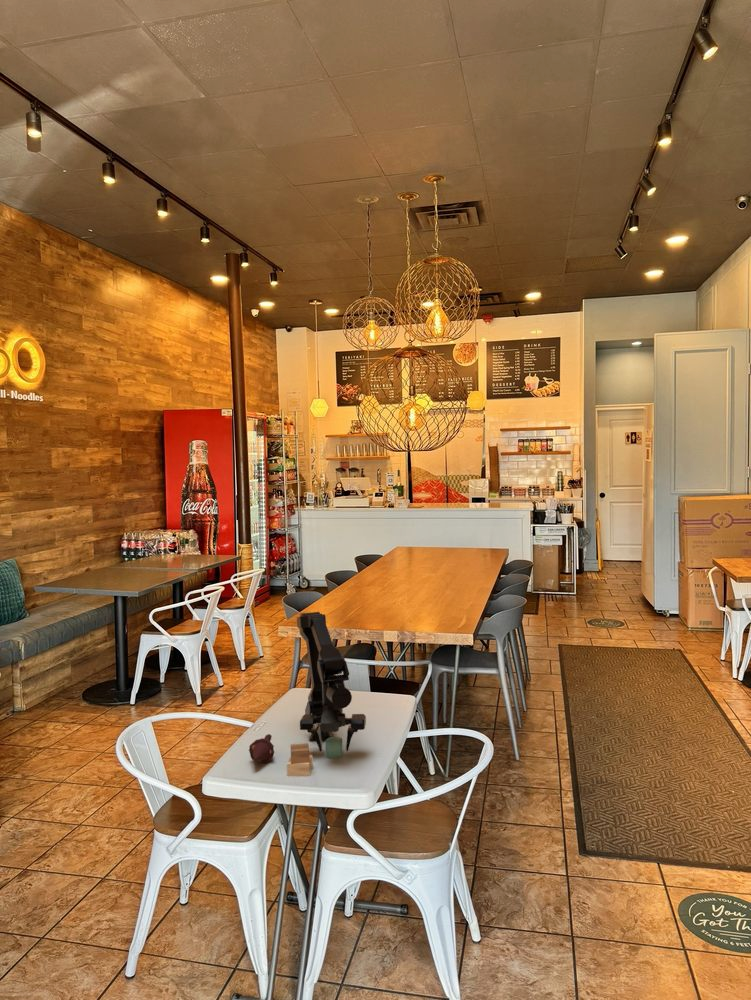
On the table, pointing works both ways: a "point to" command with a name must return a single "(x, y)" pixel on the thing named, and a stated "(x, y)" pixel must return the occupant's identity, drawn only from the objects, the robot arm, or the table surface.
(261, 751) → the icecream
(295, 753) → the tower top
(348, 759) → the table surface
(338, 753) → the sage green cylinder
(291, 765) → the tower base
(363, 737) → the table surface
